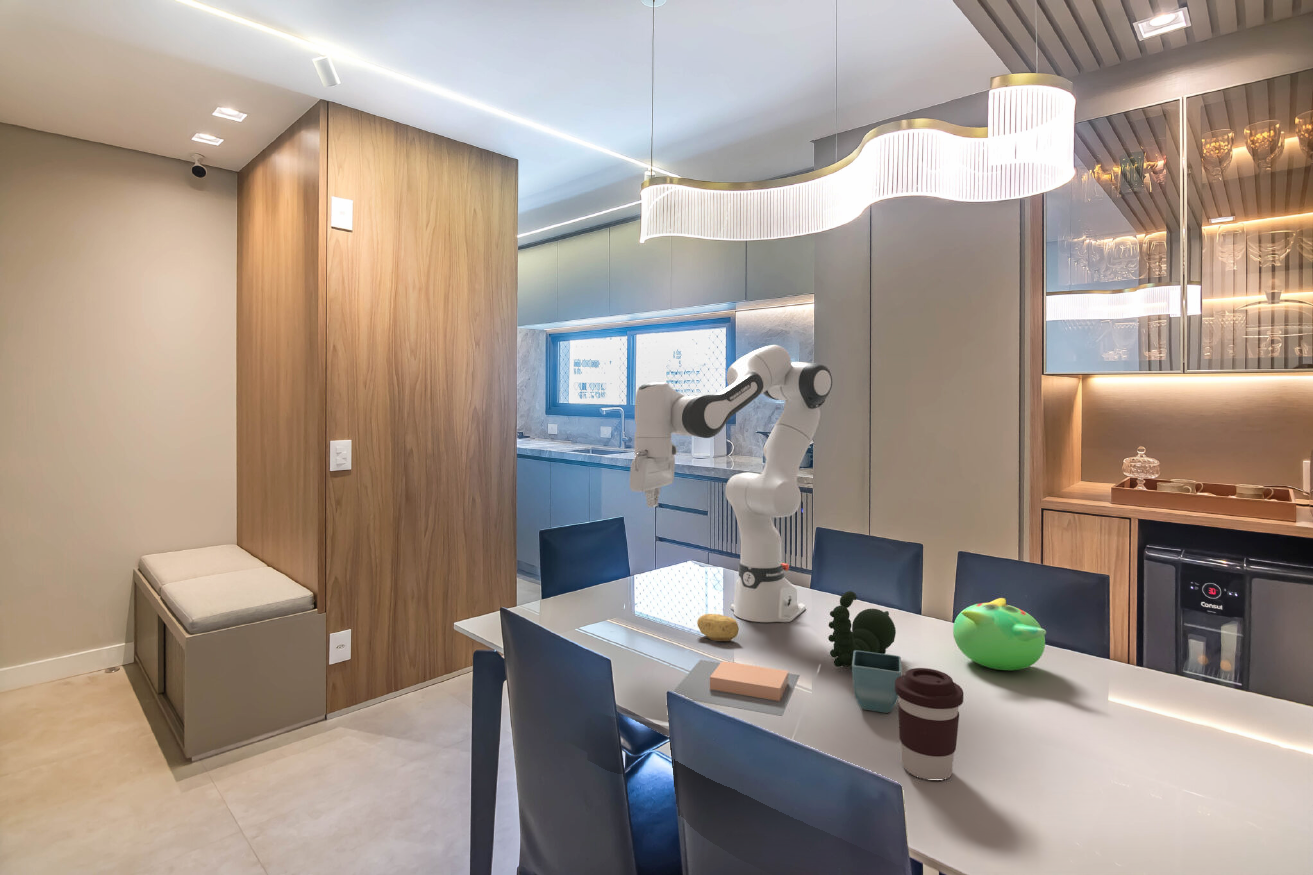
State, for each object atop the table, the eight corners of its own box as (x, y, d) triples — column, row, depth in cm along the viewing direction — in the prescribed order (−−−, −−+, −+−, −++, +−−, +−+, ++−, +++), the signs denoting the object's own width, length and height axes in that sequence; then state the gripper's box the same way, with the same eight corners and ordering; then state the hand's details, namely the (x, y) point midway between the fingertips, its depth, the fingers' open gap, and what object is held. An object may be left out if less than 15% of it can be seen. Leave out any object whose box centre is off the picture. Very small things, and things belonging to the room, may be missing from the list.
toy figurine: (859, 692, 135) (908, 650, 153) (857, 604, 133) (907, 571, 151) (818, 679, 141) (869, 640, 159) (816, 595, 139) (868, 565, 157)
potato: (726, 649, 154) (726, 623, 154) (691, 637, 162) (691, 612, 162) (743, 642, 159) (744, 616, 159) (708, 631, 167) (709, 606, 166)
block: (709, 676, 130) (780, 688, 125) (722, 660, 138) (788, 670, 133) (709, 689, 130) (779, 701, 125) (722, 673, 138) (788, 683, 133)
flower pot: (899, 700, 127) (900, 655, 127) (900, 720, 119) (902, 672, 119) (852, 693, 130) (853, 649, 130) (850, 712, 122) (851, 665, 121)
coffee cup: (882, 754, 107) (884, 664, 106) (940, 751, 108) (942, 662, 107) (911, 788, 97) (913, 690, 97) (974, 786, 98) (977, 688, 97)
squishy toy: (1039, 661, 148) (1041, 597, 147) (1049, 689, 133) (1051, 618, 132) (952, 648, 156) (954, 587, 155) (952, 673, 140) (953, 606, 140)
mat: (669, 698, 127) (669, 695, 127) (700, 662, 146) (700, 659, 146) (781, 718, 119) (781, 715, 119) (799, 677, 138) (799, 674, 138)
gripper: (648, 452, 146) (648, 513, 147) (679, 447, 165) (678, 501, 166) (623, 451, 148) (622, 511, 149) (656, 446, 167) (655, 500, 168)
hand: (652, 506), depth 157 cm, fingers closed
